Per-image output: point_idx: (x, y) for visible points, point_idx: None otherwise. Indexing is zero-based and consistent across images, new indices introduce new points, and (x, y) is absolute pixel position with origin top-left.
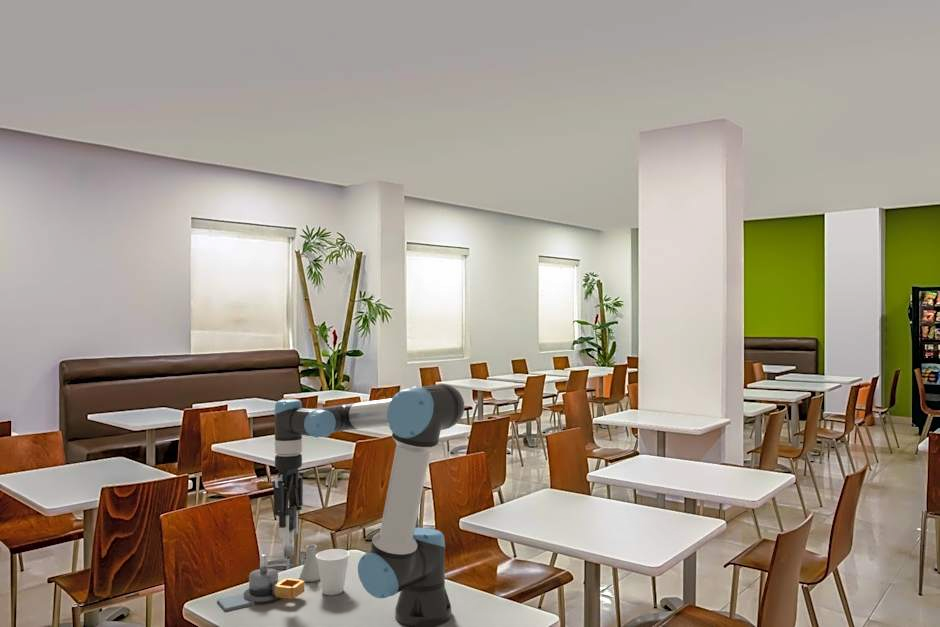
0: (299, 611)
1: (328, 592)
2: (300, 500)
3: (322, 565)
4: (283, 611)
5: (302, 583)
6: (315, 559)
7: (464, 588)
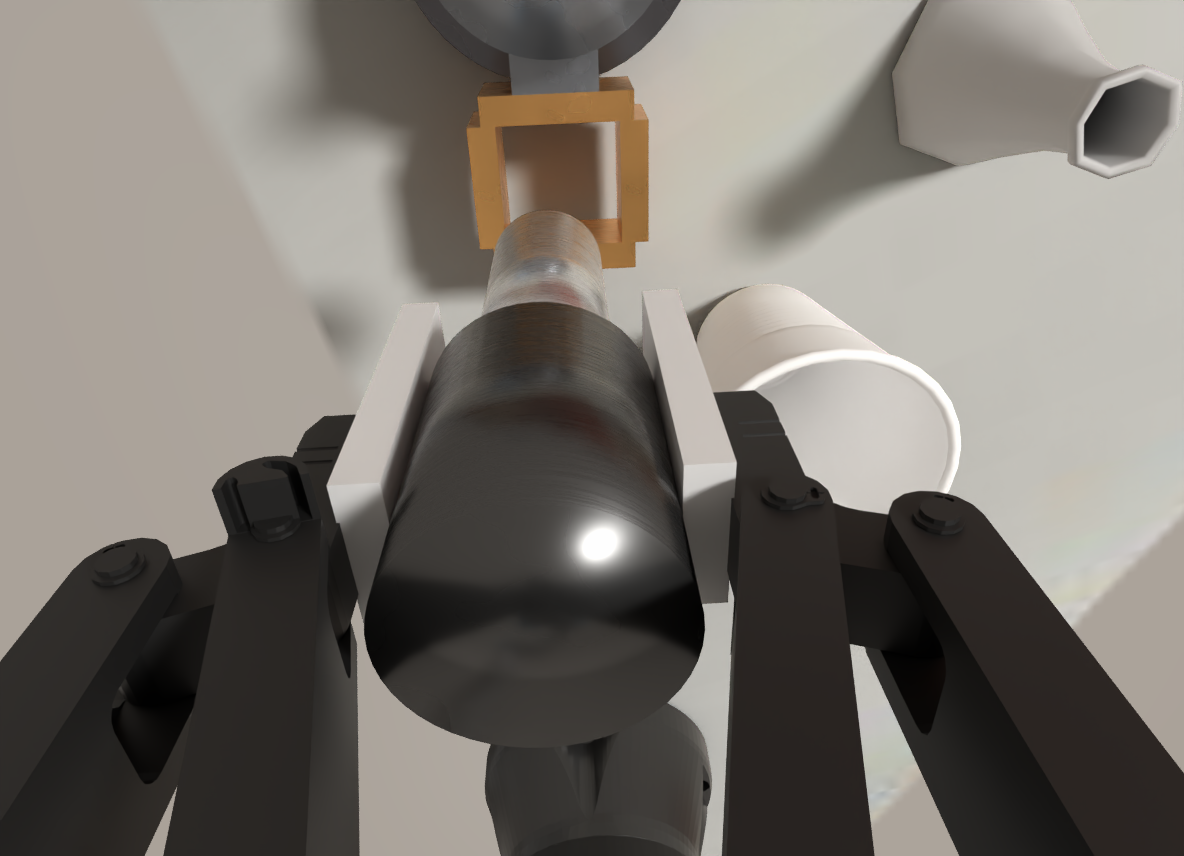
0: None
1: None
2: (896, 718)
3: None
4: (391, 222)
5: (607, 264)
6: (1040, 148)
7: (899, 788)
